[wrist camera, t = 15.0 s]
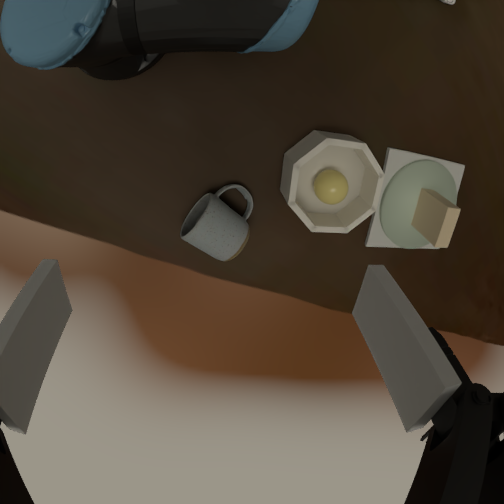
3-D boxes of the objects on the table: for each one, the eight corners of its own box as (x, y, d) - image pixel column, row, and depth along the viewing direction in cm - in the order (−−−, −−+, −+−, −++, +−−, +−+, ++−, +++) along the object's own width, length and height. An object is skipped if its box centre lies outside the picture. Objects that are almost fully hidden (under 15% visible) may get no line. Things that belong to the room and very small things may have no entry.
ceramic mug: (222, 248, 52) (224, 275, 45) (181, 222, 48) (176, 246, 42) (264, 200, 48) (273, 221, 42) (222, 169, 45) (224, 185, 38)
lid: (391, 151, 45) (422, 169, 37) (462, 167, 47) (494, 186, 39) (369, 244, 53) (391, 273, 46) (438, 246, 56) (463, 272, 48)
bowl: (287, 126, 42) (297, 134, 37) (372, 138, 44) (390, 147, 39) (276, 213, 49) (283, 230, 44) (355, 217, 51) (370, 234, 46)
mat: (387, 147, 45) (389, 148, 44) (462, 164, 47) (464, 165, 47) (364, 244, 54) (366, 246, 53) (437, 246, 57) (439, 248, 56)
